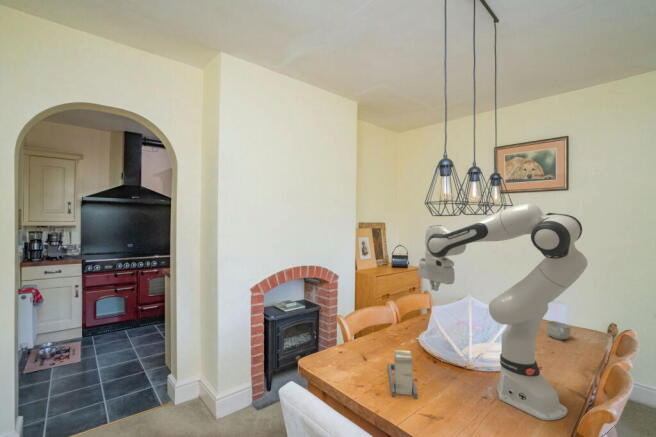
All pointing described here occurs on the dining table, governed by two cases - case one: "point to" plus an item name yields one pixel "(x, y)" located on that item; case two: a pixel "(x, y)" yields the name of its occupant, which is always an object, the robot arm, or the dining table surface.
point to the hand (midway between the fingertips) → (434, 290)
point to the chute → (390, 368)
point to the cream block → (403, 372)
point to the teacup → (558, 330)
